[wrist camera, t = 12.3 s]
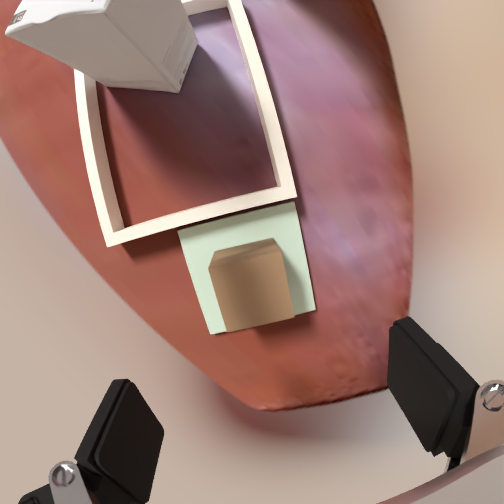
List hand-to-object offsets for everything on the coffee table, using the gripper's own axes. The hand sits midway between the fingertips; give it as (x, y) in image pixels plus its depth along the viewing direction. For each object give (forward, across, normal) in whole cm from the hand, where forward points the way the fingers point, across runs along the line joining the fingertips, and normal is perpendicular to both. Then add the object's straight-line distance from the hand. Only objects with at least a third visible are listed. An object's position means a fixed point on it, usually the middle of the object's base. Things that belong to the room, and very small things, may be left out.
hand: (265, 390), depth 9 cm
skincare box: (+17, +5, -20) cm, 27 cm away
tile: (+16, 0, +1) cm, 16 cm away
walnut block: (+16, 0, +1) cm, 16 cm away
